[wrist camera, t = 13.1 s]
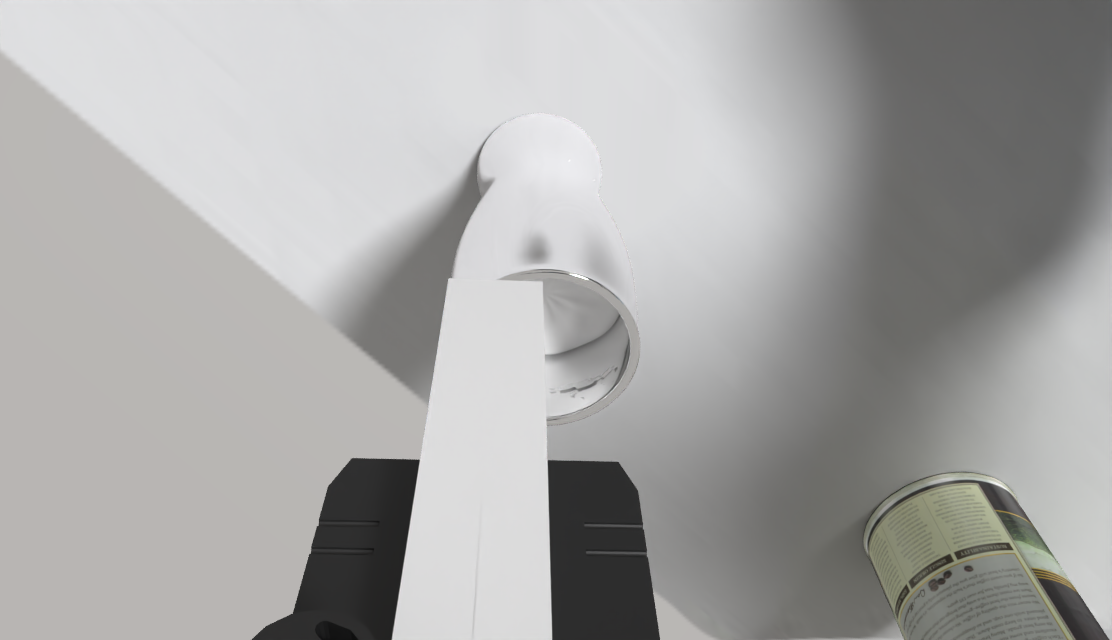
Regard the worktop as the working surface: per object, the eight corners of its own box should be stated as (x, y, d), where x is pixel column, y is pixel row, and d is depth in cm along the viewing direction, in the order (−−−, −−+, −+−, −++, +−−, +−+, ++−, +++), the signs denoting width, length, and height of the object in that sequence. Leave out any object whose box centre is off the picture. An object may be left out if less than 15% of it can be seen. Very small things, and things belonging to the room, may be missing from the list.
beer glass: (577, 252, 43) (597, 452, 31) (449, 208, 41) (414, 400, 29) (634, 133, 39) (682, 304, 27) (496, 80, 38) (480, 236, 25)
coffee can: (1046, 477, 53) (1192, 678, 42) (977, 581, 59) (1089, 784, 47) (895, 462, 52) (1001, 665, 40) (839, 570, 58) (918, 775, 46)
